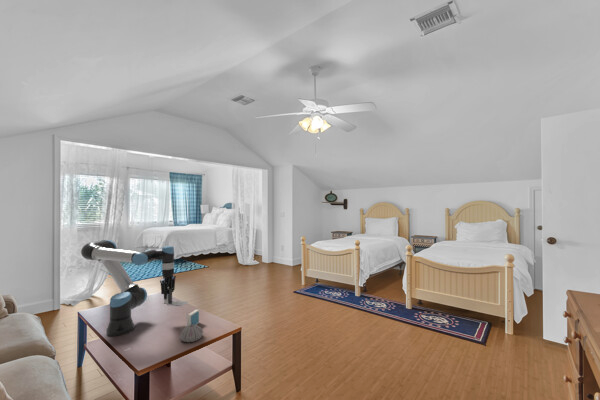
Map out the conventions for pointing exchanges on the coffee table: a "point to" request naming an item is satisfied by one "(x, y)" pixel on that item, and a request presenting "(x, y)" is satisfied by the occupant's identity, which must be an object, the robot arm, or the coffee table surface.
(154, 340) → the coffee table surface
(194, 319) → the tile
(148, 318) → the coffee table surface
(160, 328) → the coffee table surface
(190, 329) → the sea urchin shell
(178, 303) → the grey l-shaped block
